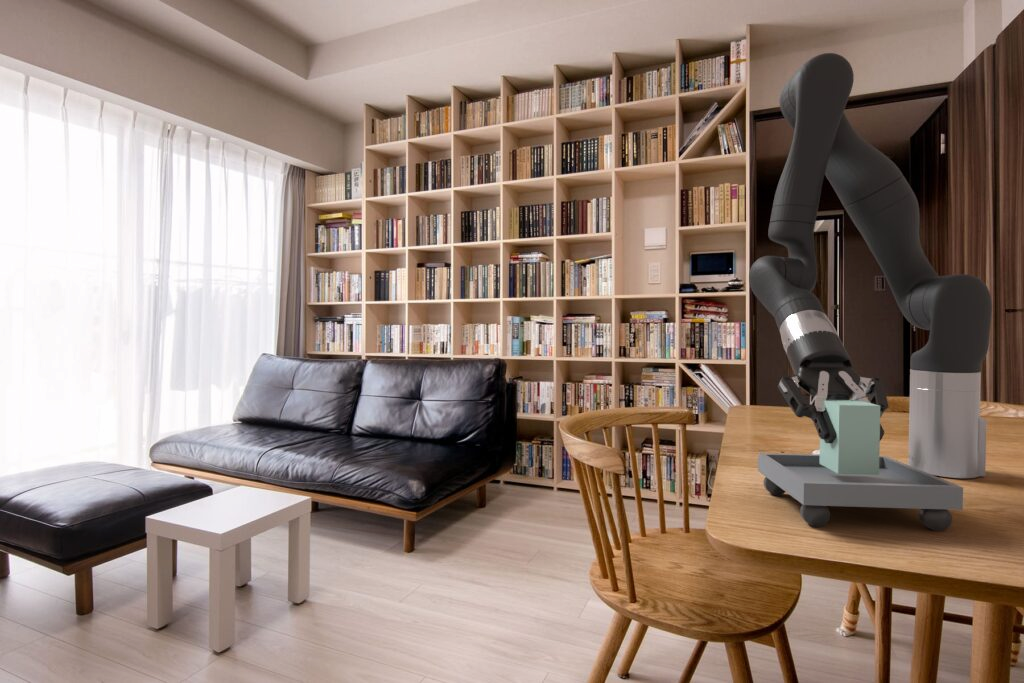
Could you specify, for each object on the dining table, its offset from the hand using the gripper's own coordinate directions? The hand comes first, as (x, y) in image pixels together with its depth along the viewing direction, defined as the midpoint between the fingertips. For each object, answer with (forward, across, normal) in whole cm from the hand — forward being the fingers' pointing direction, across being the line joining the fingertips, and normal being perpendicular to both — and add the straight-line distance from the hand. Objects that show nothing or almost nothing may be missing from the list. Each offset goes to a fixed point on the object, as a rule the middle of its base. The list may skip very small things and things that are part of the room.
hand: (854, 440), depth 68 cm
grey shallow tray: (+6, 0, +8) cm, 10 cm away
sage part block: (+2, 0, +4) cm, 4 cm away
